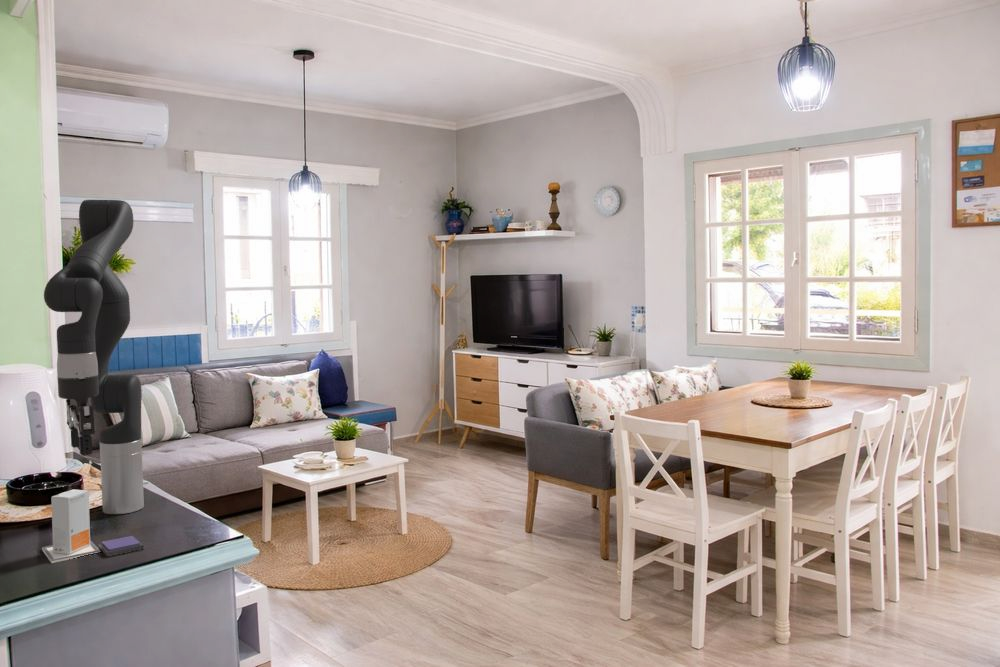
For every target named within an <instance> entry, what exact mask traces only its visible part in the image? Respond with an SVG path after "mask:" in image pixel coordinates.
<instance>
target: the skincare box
mask: <svg viewBox="0 0 1000 667" xmlns="http://www.w3.org/2000/svg"><path fill="white" fill-rule="evenodd" d="M89 492H90V491H89V490H86V489H85V490H84V489H83V490H82V489H74V488H73V489H71V490H67V491H64V492H60V493H58V494H56V495H52V496H51V499H50V500H51V501H50V502H51V503H50V504H51V523H52V524H51V527H52V545H53V553H59V554H71V553H73V552H76V551H78V550H80V549H83V548H85V547H88V546H90V540H91V527H90V526H91V525H90V518H91V517H90V494H89Z"/></svg>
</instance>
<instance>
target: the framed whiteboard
mask: <svg viewBox="0 0 1000 667" xmlns="http://www.w3.org/2000/svg"><path fill="white" fill-rule="evenodd" d="M41 550H42V552H43V553H44V555H45V556H46V558H47V559H48V561H49V562H50V563H51V564H54V563H61V562H64V561H69V559H70V560H74V559H73V558H75V559H78V558H77V557H80V556H84V555H88V554H93V553H98V552H101V550H100V549H99V546H97V545H96V544H95V543H94V542H93V541H92V540H91V539H90V546H88V547H85V548H83V549H80V550H78V551H76V552H73V553H71V554H59V553H53V544H51V545H47V546H42V547H41ZM84 557H85V556H84ZM80 558H81V557H80Z"/></svg>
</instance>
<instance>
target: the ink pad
mask: <svg viewBox="0 0 1000 667" xmlns="http://www.w3.org/2000/svg"><path fill="white" fill-rule="evenodd" d="M99 548H100V549H101V550H102V551H103V552H104V553H105V554H106V555H107V556H110V555H115V554H120V555H122V554H121V553H125V552H129V551H134V550H139V549H144V544H143V543H142V542H141V541H140V540H138V539H137V538H136V537H135V536H133V535H129V536H125V537H124V536H123V537H119V538H115V539H109V540H104V541H101V542H100V543H98V549H99ZM100 549H99V550H100ZM101 550H100V551H101ZM102 551H101V552H102ZM139 551H140V550H139ZM103 552H102V553H103ZM134 552H135V551H134ZM104 553H103V554H104ZM105 554H104V555H105ZM125 554H126V553H125ZM106 555H105V556H106ZM107 556H106V557H107Z"/></svg>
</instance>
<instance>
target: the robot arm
mask: <svg viewBox="0 0 1000 667" xmlns="http://www.w3.org/2000/svg"><path fill="white" fill-rule="evenodd" d="M78 221H79V222H78V223H79V232H80V237H81V238H80V239H81V244H80V245H79V246H78V247H77V248H76V249H75V250H74V252H73V253H72V255H71V257H70V260H69V261H68V263H67V264H66V266H64V267H62V269H60V270H59V271H58V272H57V273H55V274H54V275H53V276H52V277H51V278H50V279H49V280H48V282H46V285H45V288H44V290H43V299H44V303H45V304H46V306H47V307H48V308H49V310H51V311H53V312H58V313H81V315H80V317H79V318H78V320H76V321H75V322H69V323H65V324H62V325H59V326H58V327H57V329H56V345H57V346H56V347H57V348H56V350H57V358H56V359H57V360H56V374H57V391H58V392H57V393H58V398H60V399H62V400H65V402H66V424H67V426H68V429H69V430H70V444H71V447H72V448H79V454H80V455H81V456H89V455H92V454H93V439H92V438H93V435H95V433H96V430H95V420H94V419H95V417H94V412H95V413H97V414H123V418H122V420H121V421H119V422H117V423H116V424H112V425H110V426H107V427H104V428H103V429H101V430H100V431H99V453H100V454H99V456H100V457H99V458H100V475H101V476H100V479H101V480H100V481H101V482H100V483H101V502H102V503H101V504H102V512H103V513H104V514H107V515H122V514H129V513H135V512H137V511H139V510H142V509H143V508H144V507H145V504H144V503H145V500H144V496H145V495H144V476H143V475H144V474H143V472H144V471H143V450H142V449H143V448H142V447H143V446H142V394H143V393H142V391H143V390H142V384H141V380H140V378H139V377H138V376H137V375H135V374H113V375H112V374H111V375H110V374H109V365H110V360H111V356H112V355H113V352H114V351H115V350H114V349H115V348H116V347H117V345H118V344H119V342H120V340H121V339H122V337H123V336H124V334H125V333H126V331H127V330H128V327H129V325H130V321H131V311H130V310H131V308H130V307H131V306H130V295H129V292H128V289H127V288H126V287H125V284H124V283H123V282H122V280H121V279H120V278H119V277H118V275H117V274H116V273H115V272H114V270H113V268H112V267H111V266H110V264H109V262H110V261H111V259H112V258H113V257H114V255H115V254H117V252H118V251H119V250H120V248H122V246H123V245H124V243H126V241H127V240H128V239H129V237H130V236H131V234H132V232H133V229H134V213H133V209H132V207H131V205H130V204H129V203H128V202H127V201H125V200H121V199H120V200H119V199H85V200H82V202H81V203H80V206H79V210H78ZM89 398H90V401H89ZM89 402H90V404H91V405H90V404H89ZM85 428H86V429H85Z"/></svg>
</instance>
